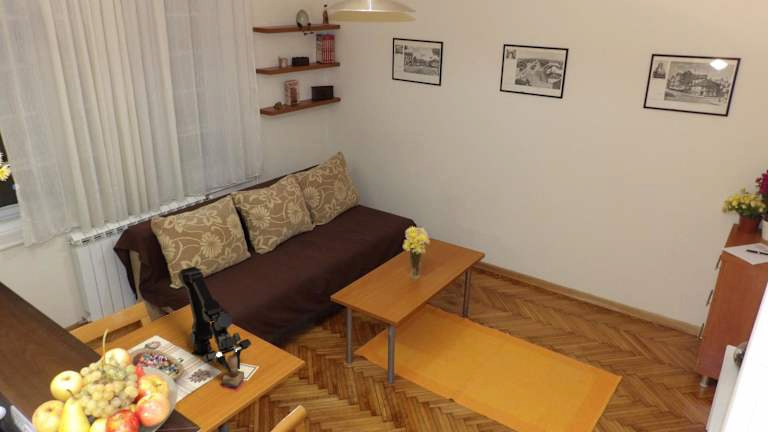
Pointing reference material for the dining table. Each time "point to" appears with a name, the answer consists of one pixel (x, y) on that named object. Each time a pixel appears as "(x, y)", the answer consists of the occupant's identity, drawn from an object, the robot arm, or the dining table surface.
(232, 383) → the stamp
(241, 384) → the ink pad
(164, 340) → the dining table surface
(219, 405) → the dining table surface
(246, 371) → the marked board
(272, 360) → the dining table surface
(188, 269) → the robot arm
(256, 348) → the dining table surface
